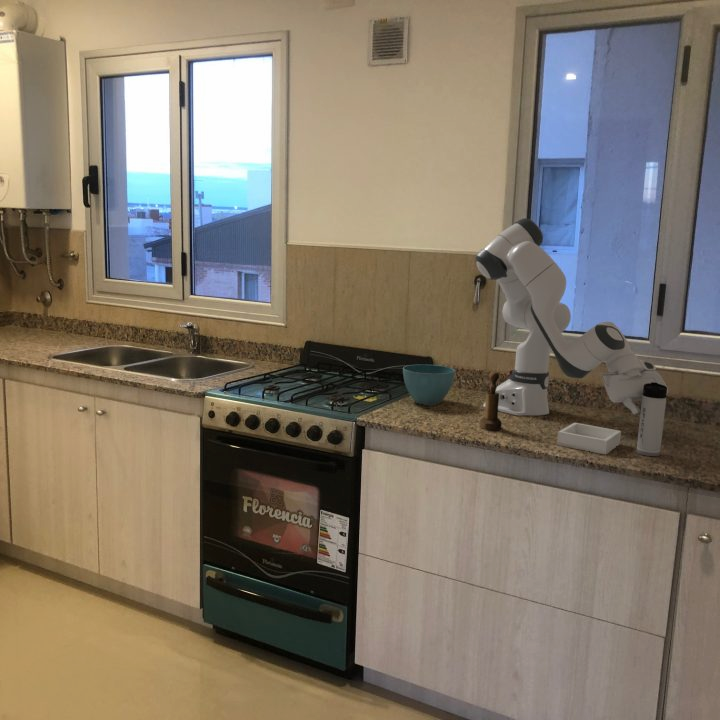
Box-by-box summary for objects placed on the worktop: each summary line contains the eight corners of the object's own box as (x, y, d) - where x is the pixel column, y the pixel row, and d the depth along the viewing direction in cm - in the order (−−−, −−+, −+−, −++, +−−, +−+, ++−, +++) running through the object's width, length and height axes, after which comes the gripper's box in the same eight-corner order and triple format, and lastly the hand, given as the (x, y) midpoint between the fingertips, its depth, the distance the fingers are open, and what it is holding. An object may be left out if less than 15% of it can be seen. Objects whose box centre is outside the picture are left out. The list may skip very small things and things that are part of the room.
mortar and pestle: (475, 427, 231) (479, 370, 228) (487, 424, 235) (491, 368, 232) (493, 431, 226) (497, 374, 223) (505, 428, 231) (509, 371, 228)
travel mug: (658, 451, 212) (666, 383, 209) (661, 457, 206) (669, 387, 202) (635, 448, 214) (642, 381, 210) (637, 455, 207) (644, 385, 204)
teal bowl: (390, 401, 262) (392, 367, 260) (425, 394, 274) (427, 362, 272) (428, 411, 249) (430, 375, 247) (463, 404, 261) (465, 370, 259)
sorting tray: (556, 444, 215) (558, 431, 214) (573, 435, 226) (574, 422, 225) (605, 454, 207) (606, 440, 206) (619, 444, 218) (621, 431, 217)
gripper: (606, 366, 208) (629, 408, 201) (658, 363, 217) (681, 403, 210) (593, 379, 213) (615, 420, 206) (644, 375, 222) (667, 415, 215)
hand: (649, 412), depth 208 cm, fingers open, 8 cm apart
